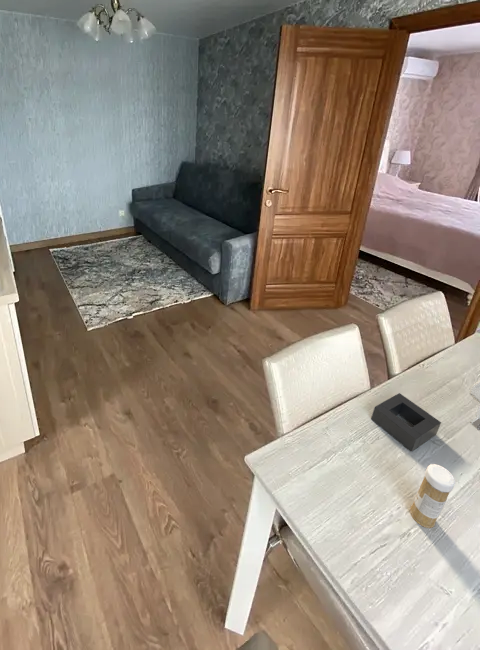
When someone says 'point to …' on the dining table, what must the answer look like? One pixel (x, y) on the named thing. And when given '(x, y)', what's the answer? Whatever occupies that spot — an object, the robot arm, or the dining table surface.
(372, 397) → the dining table surface
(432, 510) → the sprinkles bottle
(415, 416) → the socket block
